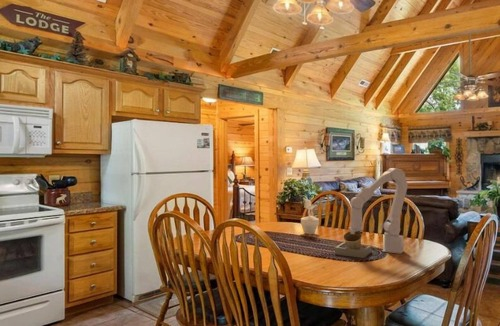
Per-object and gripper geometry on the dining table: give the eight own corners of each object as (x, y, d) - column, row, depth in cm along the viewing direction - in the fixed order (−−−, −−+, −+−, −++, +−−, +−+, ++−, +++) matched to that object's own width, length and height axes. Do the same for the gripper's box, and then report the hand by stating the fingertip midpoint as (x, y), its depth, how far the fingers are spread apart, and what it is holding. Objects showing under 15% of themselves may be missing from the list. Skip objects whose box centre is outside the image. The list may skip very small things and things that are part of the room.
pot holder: (371, 252, 198) (371, 245, 198) (363, 258, 187) (363, 251, 187) (343, 248, 206) (343, 242, 206) (334, 254, 195) (334, 247, 195)
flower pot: (344, 255, 197) (342, 241, 193) (346, 244, 204) (344, 230, 201) (363, 255, 193) (361, 241, 190) (364, 243, 201) (362, 230, 198)
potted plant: (297, 232, 250) (297, 194, 249) (312, 231, 255) (312, 194, 254) (308, 236, 238) (308, 196, 238) (323, 234, 243) (323, 195, 243)
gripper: (353, 217, 209) (353, 241, 209) (344, 221, 197) (344, 247, 197) (366, 218, 205) (365, 243, 206) (358, 222, 193) (358, 248, 193)
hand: (356, 245), depth 201 cm, fingers closed, pressing on flower pot
